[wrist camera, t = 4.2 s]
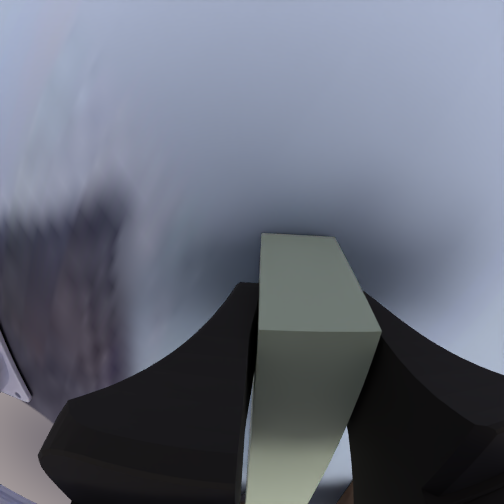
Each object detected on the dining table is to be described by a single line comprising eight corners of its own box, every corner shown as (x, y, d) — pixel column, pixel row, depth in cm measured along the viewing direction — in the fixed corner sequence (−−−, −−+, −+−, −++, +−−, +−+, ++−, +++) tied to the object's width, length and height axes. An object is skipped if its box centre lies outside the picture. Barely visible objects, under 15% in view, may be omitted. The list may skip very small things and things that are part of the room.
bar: (247, 472, 17) (243, 539, 12) (261, 232, 10) (258, 329, 6) (284, 473, 17) (285, 539, 12) (334, 236, 10) (381, 331, 6)
